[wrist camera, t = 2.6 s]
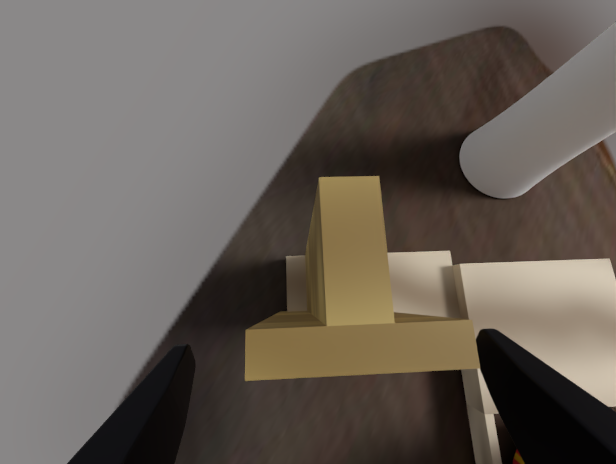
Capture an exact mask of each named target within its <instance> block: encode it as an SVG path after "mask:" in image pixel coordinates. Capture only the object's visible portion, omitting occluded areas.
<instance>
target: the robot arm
mask: <svg viewBox="0 0 616 464" xmlns="http://www.w3.org/2000/svg"><path fill="white" fill-rule="evenodd" d="M476 345H477V351H478V357H479V362H480V370H481V373H482V375H483V378H484V380H485V383H486V385H487V388H488V390H489V393H490V395H491V398H492V400H493V402H494V404H495V406H496V408H497V411H498V413H499V414H500V416H501V418H502V420H503V422H504V424H505V426H506V428H507V430H508V432H509V434H510V436H511V438H512V440H513V442H514V444H515V446H516V448H517V450H518V452H519V454H520V456H521V458H522V460H523V462H524V463H525V464H616V412H615V411H614V410H612V409H611V408H609V407H608V406H607V405H605V404H604V403H602V402H601V401H599V400H598V399H596V398H595V397H594V396H592V395H591V394H589V393H588V392H586V391H585V390H583V389H582V388H581V387H579V386H578V385H576V384H575V383H573V382H572V381H570V380H569V379H568V378H566V377H565V376H563V375H562V374H560V373H559V372H557V371H556V370H555V369H553V368H552V367H550V366H549V365H547V364H546V363H544V362H543V361H542V360H540V359H539V358H537V357H536V356H534V355H533V354H531V353H530V352H529V351H527V350H526V349H524V348H523V347H521V346H520V345H518V344H517V343H516V342H514V341H513V340H511V339H510V338H508V337H507V336H505V335H504V334H503V333H501V332H500V331H498V330H496V329H493V328H488V329H481V330H480V331H479V333H478V335H477V337H476ZM194 373H195V359H194V356H193V353H192V350H191V347H190V345H188V344H182V345H175V346H174V347H172V348H171V349H170V351H169V352H168V353H167V354H166V355H165V356H164V357H163V358H162V359H161V361H160V362H159V363H158V364H157V365H156V366H155V367H154V368H153V369H152V370H151V372H150V373H149V374H148V375H147V376H146V377H145V378H144V379H143V380H142V381H141V383H140V384H139V385H138V386H137V387H136V388H135V389H134V390H133V391H132V393H131V394H130V395H129V396H128V397H127V398H126V399H125V400H124V401H123V402H122V404H121V405H120V406H119V407H118V408H117V409H116V410H115V411H114V412H113V413H112V415H111V416H110V417H109V418H108V419H107V420H106V421H105V422H104V423H103V425H102V426H101V427H100V428H99V429H98V430H97V431H96V432H95V433H94V435H93V436H92V437H91V438H90V439H89V440H88V441H87V442H86V443H85V444H84V445H83V447H82V448H81V449H80V450H79V451H78V452H77V453H76V454H75V455H74V457H73V458H72V459H71V460H70V461H69V462H68V463H67V464H174V463H175V459H176V456H177V452H178V449H179V445H180V442H181V438H182V434H183V431H184V427H185V423H186V418H187V413H188V407H189V401H190V395H191V390H192V384H193V378H194Z"/></svg>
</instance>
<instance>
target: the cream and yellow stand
mask: <svg viewBox="0 0 616 464" xmlns="http://www.w3.org/2000/svg"><path fill="white" fill-rule="evenodd" d="M286 275H287V311H281V312H278V313H276V314H275V315H273V316H271V317H269V318H267V319H265V320H263V321H261V322H259V323H258V324H256V325H254V326H252V327H250V328H248V329H246V340H245V381H252V380H271V379H290V378H309V377H328V376H347V375H366V374H384V373H403V372H422V371H441V370H460V369H461V372H462V378H463V385H464V391H465V398H466V404H467V411H468V417H469V424H470V430H471V437H472V443H473V450H474V456H475V463H476V464H502V461H501V455H500V449H499V443H498V438H497V432H496V426H495V420H494V415H493V414H499V413H498V411H497V408H496V406H495V404H494V402H493V400H492V398H491V395H490V393H489V390H488V388H487V385H486V383H485V380H484V378H483V375H482V373H481V370H480V362H479V357H478V351H477V345H476V337H477V335H478V333H479V331H480V330H481V329H488V328H493V329H496V330H498V331H500V332H501V333H503V334H504V335H505V336H507V337H508V338H510V339H511V340H513V341H514V342H516V343H517V344H518V345H520V346H521V347H523V348H524V349H526V350H527V351H529V352H530V353H531V354H533V355H534V356H536V357H537V358H539V359H540V360H542V361H543V362H544V363H546V364H547V365H549V366H550V367H552V368H553V369H555V370H556V371H557V372H559V373H560V374H562V375H563V376H565V377H566V378H568V379H569V380H570V381H572V382H573V383H575V384H576V385H578V386H579V387H581V388H582V389H583V390H585V391H586V392H588V393H589V394H591V395H592V396H594V397H595V398H596V399H598V400H599V401H601V402H602V403H604V404H605V405H607V406H608V407H614V409H615V412H616V279H615V276H614V272H613V269H612V266H611V262H610V259H585V260H556V261H528V262H500V263H471V264H457V265H453V266H452V261H451V255H450V251H430V252H400V253H387V245H386V236H385V226H384V217H383V208H382V198H381V189H380V180H379V176H354V177H319V180H318V186H317V192H316V197H315V203H314V208H313V214H312V220H311V225H310V231H309V237H308V242H307V248H306V254H305V256H286Z"/></svg>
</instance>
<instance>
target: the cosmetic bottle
mask: <svg viewBox="0 0 616 464" xmlns="http://www.w3.org/2000/svg"><path fill="white" fill-rule="evenodd" d="M615 132H616V22H615V23H613V24H612V25H611V26H610V27H609V28H607V29H606V30H605V31H604V32H603V33H601V34H600V35H599V36H598V37H597V38H595V39H594V40H593V41H592V42H591V43H589V44H588V45H587V46H586V47H585V48H584V49H582V50H581V51H580V52H579V53H577V54H576V55H575V56H574V57H572V58H571V59H570V60H569V61H568V62H566V63H565V64H564V65H563V66H561V67H560V68H559V69H558V70H557V71H555V72H554V73H553V74H552V75H550V76H549V77H548V78H547V79H545V80H544V81H543V82H542V83H540V84H539V85H538V86H537V87H535V88H534V89H533V90H532V91H530V92H529V93H528V94H527V95H525V96H524V97H523V98H521V99H520V100H519V101H517V102H516V103H515V104H513V105H512V106H511V107H509V108H508V109H507V110H505V111H504V112H502V113H501V114H500V115H498V116H497V117H495V118H494V119H493V120H491V121H489V122H488V123H486V124H485V125H483V126H482V127H480V128H479V129H477V130H475V131H474V132H472V133H471V134H470V135H469V136H468V137H467V138H466V139H465V140H464V142H463V144H462V146H461V149H460V155H459V159H460V166H461V169H462V171H463V173H464V175H465V177H466V178H467V180H468V181H469V182H470V183H471V184H472V185H473V186H474V187H475V188H476V189H478V190H479V191H480V192H482V193H484V194H486V195H489V196H492V197H495V198H503V199H505V198H514V197H517V196H520V195H522V194H524V193H525V192H527V191H528V190H529V189H530V188H532V187H533V186H534V185H535V184H537V183H538V182H539V181H541V180H542V179H543V178H545V177H546V176H548V175H549V174H550V173H552V172H553V171H555V170H556V169H558V168H559V167H561V166H562V165H564V164H565V163H567V162H568V161H570V160H571V159H573V158H574V157H576V156H577V155H579V154H581V153H582V152H584V151H585V150H587V149H588V148H590V147H592V146H593V145H595V144H597V143H598V142H600V141H602V140H603V139H605V138H607V137H608V136H610V135H611V134H613V133H615Z"/></svg>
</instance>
